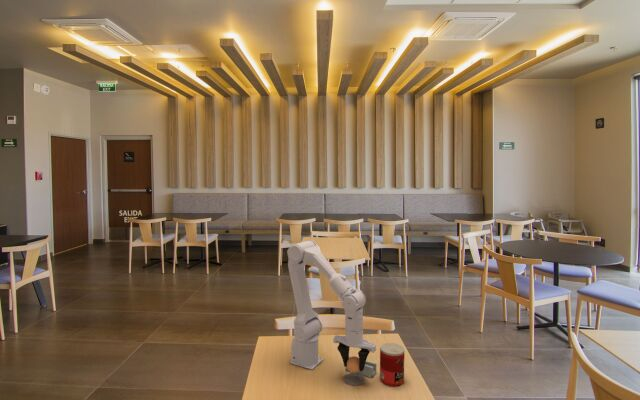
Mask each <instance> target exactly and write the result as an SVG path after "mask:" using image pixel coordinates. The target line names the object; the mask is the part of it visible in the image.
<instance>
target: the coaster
mask: <svg viewBox="0 0 640 400" xmlns="http://www.w3.org/2000/svg"><path fill="white" fill-rule="evenodd" d="M365 381H366V380H365V377H364V375H361V374H358V373H352V372H350V373H347V374H345V375H344V376H343V382H344V383H345V384H347V385H349V386H352V387H353V386H355V387H356V386H361V385H363V384H364V383H365Z"/></svg>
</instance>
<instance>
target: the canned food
mask: <svg viewBox="0 0 640 400" xmlns="http://www.w3.org/2000/svg"><path fill="white" fill-rule="evenodd" d="M379 378H380V381H381V382H382V383H383V384H385V385H387V386H389V385H390V386H391V387H398V385H399V386H400V385H402V384H404V380H405V348H404V347H403V346H402V345H401V344H398V343H394V342H385V343H382V344H381V345H380V348H379Z"/></svg>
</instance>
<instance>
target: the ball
mask: <svg viewBox="0 0 640 400" xmlns="http://www.w3.org/2000/svg"><path fill="white" fill-rule="evenodd" d="M349 357H350V356H349ZM359 364H360V362H359V356H355V355H354V356H353V355H352V357H350V358H349V359H348V361H347V368H348V370H349V371H348V370H347V371H348V372H350V373H357V372H359V371H360V369H359Z"/></svg>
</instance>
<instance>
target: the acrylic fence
mask: <svg viewBox="0 0 640 400" xmlns="http://www.w3.org/2000/svg"><path fill="white" fill-rule="evenodd" d="M350 357H353V355H352V356H351V355H349V358H350ZM345 371H347V372H350V371H349V370H348V368H347V367H345ZM357 373H358V374H360V375H362V376H365V377H369V378H374V377H375V375H377V362H373V361H370V360H366V362H365V366H364V369H363V371H359V372H357Z"/></svg>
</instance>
